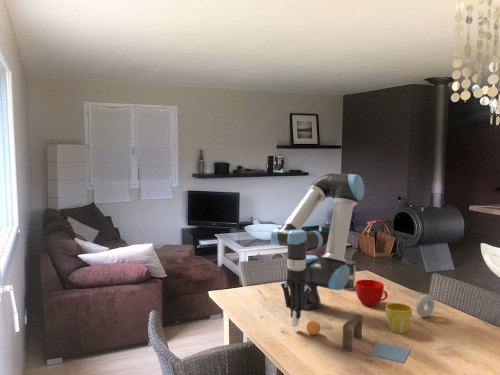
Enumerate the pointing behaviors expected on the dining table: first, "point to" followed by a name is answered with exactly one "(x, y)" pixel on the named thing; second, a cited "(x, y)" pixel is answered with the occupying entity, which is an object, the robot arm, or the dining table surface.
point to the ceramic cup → (370, 292)
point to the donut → (421, 304)
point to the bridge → (352, 331)
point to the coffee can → (351, 281)
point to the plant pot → (398, 316)
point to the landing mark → (390, 352)
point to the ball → (313, 327)
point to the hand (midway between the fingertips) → (295, 325)
